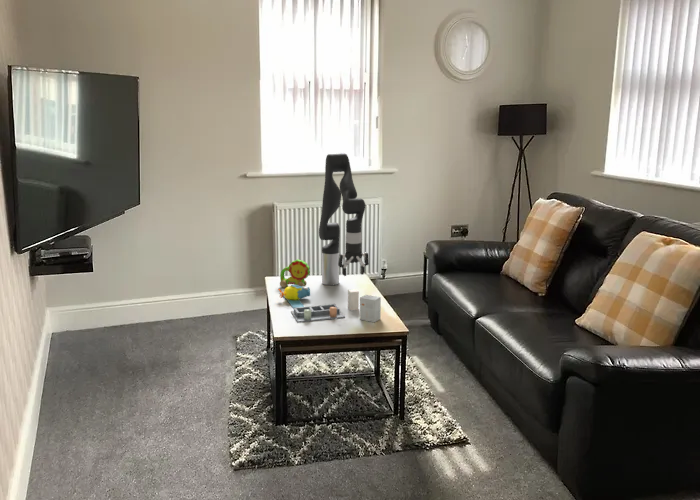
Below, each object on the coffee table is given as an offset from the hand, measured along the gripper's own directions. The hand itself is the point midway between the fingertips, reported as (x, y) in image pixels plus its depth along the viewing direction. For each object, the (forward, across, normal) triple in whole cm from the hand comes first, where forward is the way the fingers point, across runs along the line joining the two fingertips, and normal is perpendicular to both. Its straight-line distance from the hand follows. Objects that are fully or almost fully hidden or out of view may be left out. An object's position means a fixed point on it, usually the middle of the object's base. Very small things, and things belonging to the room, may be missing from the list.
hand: (353, 274), depth 294 cm
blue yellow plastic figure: (+17, +24, -20) cm, 36 cm away
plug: (+17, 0, 0) cm, 17 cm away
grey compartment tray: (+17, +18, +4) cm, 25 cm away
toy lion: (+17, +19, -42) cm, 49 cm away
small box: (+17, -3, +16) cm, 24 cm away
